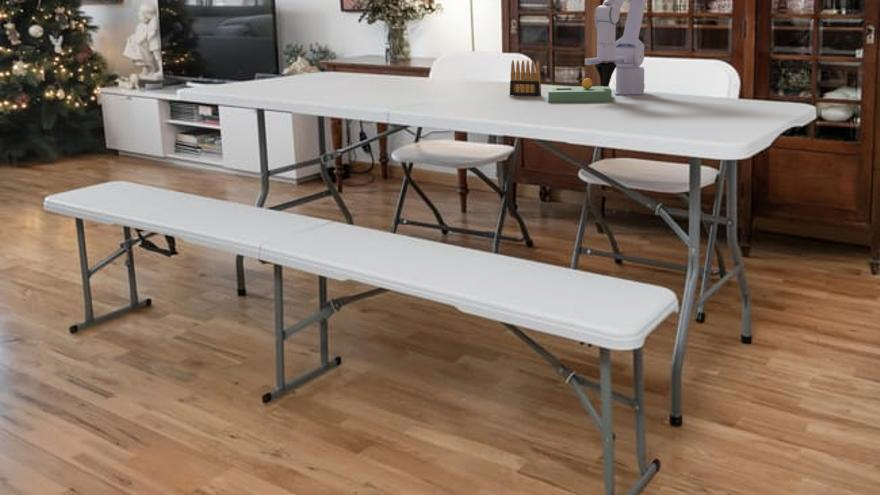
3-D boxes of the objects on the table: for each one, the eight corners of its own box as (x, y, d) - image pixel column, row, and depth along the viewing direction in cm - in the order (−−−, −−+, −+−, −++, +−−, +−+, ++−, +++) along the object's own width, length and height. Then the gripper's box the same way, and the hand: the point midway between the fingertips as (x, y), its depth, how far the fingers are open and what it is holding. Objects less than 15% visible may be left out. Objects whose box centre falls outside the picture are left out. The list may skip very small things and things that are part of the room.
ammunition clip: (541, 95, 337) (541, 59, 333) (539, 96, 335) (539, 60, 332) (511, 95, 341) (511, 59, 337) (509, 95, 339) (509, 60, 336)
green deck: (609, 96, 331) (609, 86, 330) (611, 101, 317) (611, 91, 316) (548, 96, 333) (548, 86, 332) (548, 102, 320) (548, 92, 319)
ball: (592, 88, 325) (592, 77, 324) (592, 89, 322) (593, 78, 321) (581, 88, 326) (581, 77, 325) (581, 89, 323) (582, 78, 322)
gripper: (618, 41, 326) (617, 83, 329) (580, 44, 320) (579, 86, 324) (630, 42, 319) (629, 85, 323) (591, 45, 314) (590, 88, 318)
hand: (605, 86), depth 323 cm, fingers closed
